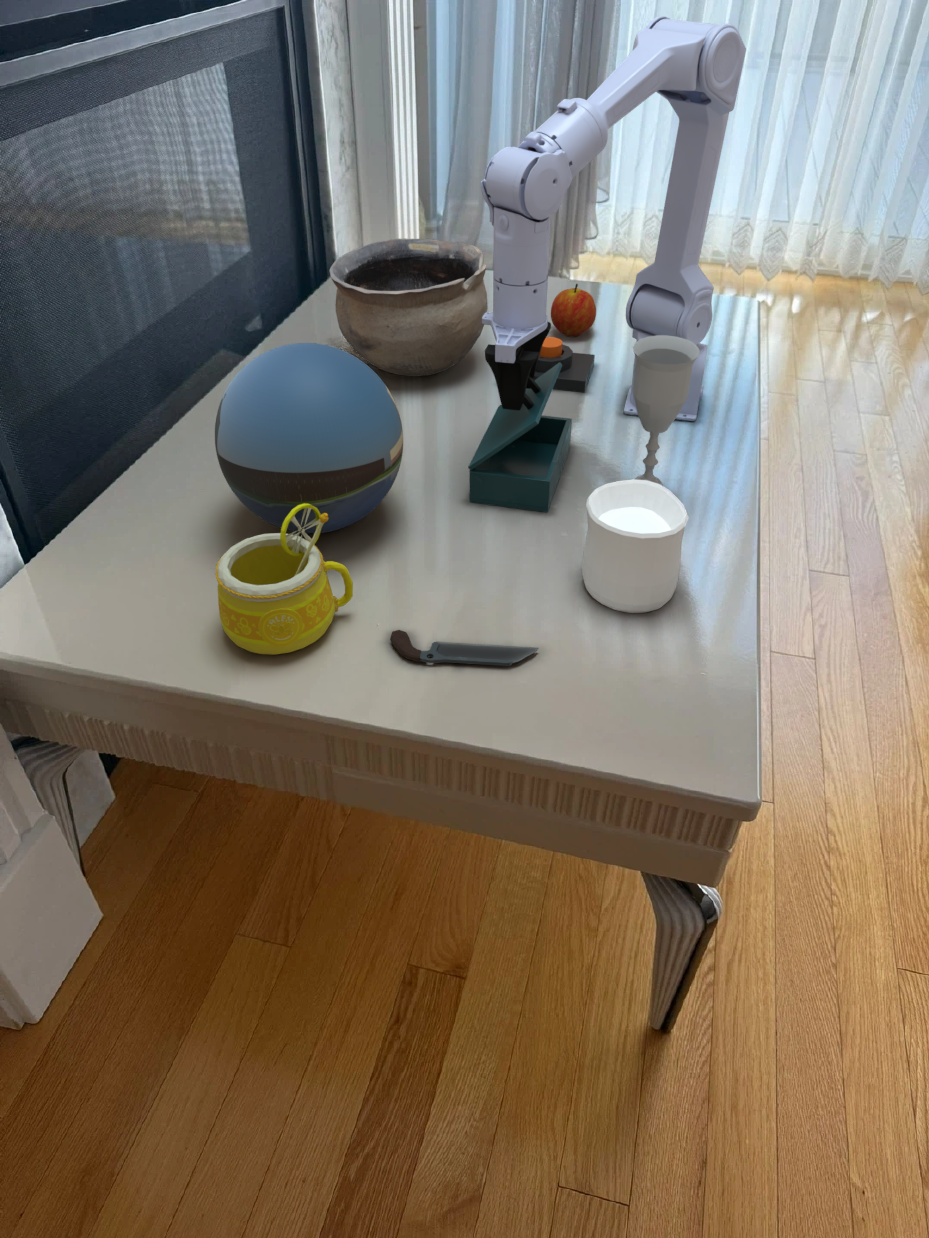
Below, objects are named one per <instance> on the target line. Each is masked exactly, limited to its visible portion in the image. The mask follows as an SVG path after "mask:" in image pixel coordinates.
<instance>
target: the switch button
mask: <svg viewBox="0 0 929 1238" xmlns="http://www.w3.org/2000/svg"><path fill="white" fill-rule="evenodd" d="M562 344H563V340H562V339H560V338H558V337H554V336H546V338H545V340H544V342H543V345H542V348H541V351H540V354H539V356H541V357H548V358H552V357H559V356H561V355H562Z"/></svg>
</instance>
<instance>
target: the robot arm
mask: <svg viewBox="0 0 929 1238" xmlns="http://www.w3.org/2000/svg"><path fill="white" fill-rule="evenodd" d="M746 51H747V48H746V45H745V43H744V41H743V39H742V36H741V34H740V32H739V29H738V28H737V27H736V26H735V25H733V24H732V23H722V24H718V23H709V22H699V21H690V20H682V19H673V18H670V17H667V16H656V17H655V18H653V19H652V20H650V21H649V22H648V24H647V25H646V26H645V27H644V28H642V29H641V30H640V31H638V32H636V34H635V38H634V41H633V46H632V51H630V53H629V54H628V55H627V56H626V57H625V58H624V59H623V60H622V62H621V63H620V64H619V65H618V66H617V67H616V68H615V69H614V70H613V71H612V72H611V73H610V75H608V77H607V78H605V80H604V81H603V82H601V84H600V85H599V86H597V88H596V90H595V91H594V92H592V94H591V95H590V96H589V97H588V98H587V99H585V98H581V97H572V98H570V99H568V98H564V99H562V100H561V101H560V102H559V103H558V104H557V105H556V108H557V110H556V111H555V112H554V113H553V114H552V115H550V116H549V117H548V118H547V119H546V120H545V121H544V122H543V123H542V124H541V125H539V127H537V128H536V129H535V130H534V131H530V132H529V133H528V134H527V135H526V136H525V138H524V140H523V141H522V142H521V143H520V144H519V145H518V146H514V145H511V146H506V147H503V148H501V149H500V150H499V151H497V153H495V154H494V155H493V156H492V157H491V159H490V160H489V162H488V164H487V166H486V168H485V172H484V178H483V179H482V180H481V181H480V190H481V194H482V198H483V200H484V202H485V203H486V204H487V207H488V209H489V222H490V223H491V226H493V253H492V254H493V259H492V260H493V261H492V265H493V266H492V267H493V268H492V269H493V270H492V276H493V277H492V278H493V280H492V311H487V312H486V313H484V315H483V317H482V324H484V326H490V327H491V330H492V333H493V336H494V340H495V343H494V344H490V343H489V344H487V346H486V347H485V349H484V359H485V361H486V364H488V366H489V368H490V370H491V372H492V374H493V376H494V380H495V382H496V387H497V392H498V396H499V402H500V405H502V408H503V409H509V410H518V411H519V410H520V409H521V407H522V405H523V401H524V397H525V392H526V388H527V389H530V387H529V386H528V384H527V381H528V377H529V375H530V376H531V377H532V378H533V379H534V375H535V371H536V366H537V362H538V358H539V354H540V351H541V348H542V345H543V342H544V340H545V338H546V337H548V335H549V333H550V331H551V329H552V324H551V323H552V322H550V321H549V318H548V315H547V305H548V289H549V288H548V287H549V286H548V285H549V266H550V265H549V263H550V247H551V246H550V243H551V223H552V216H553V215H554V214H556V213H557V212H558V211H559V209H560V207H561V205H562V203H563V201H564V197H565V195H566V193H567V190H568V189H569V188H570V187H571V183H572V182H573V180H574V179H573V178H575V177H576V176H577V175H579V173H580V172H581V171H582V170H583V169H584V168H585V167H586V166H587V165H589V164H590V162H592V161H593V160H594V159H595V158H596V157H597V156H598V155H600V153H602V151H603V150H604V149H606V146H607V143H608V140H609V139H608V138H609V130H610V128H612V127H613V126H614V125H616V124H617V123H618V122H620V121H621V120H622V119H623V118H625V117H626V116H627V115H628V114H630V113H631V112H632V111H634V110H635V109H636V108H637V107H639V106H640V105H641V104H643V102H645V101H646V100H648V99H649V98H650V97H651V96H653V95H654V94H655V93H657V94H659V95H660V96H661V97H663V98H664V99H665V100H666V101H668V104H669V105H670V107H671V108H672V109H673V111H674V112H675V115H677V117H678V127H677V133H676V137H675V142H674V149H673V155H672V161H671V167H670V172H669V177H668V182H667V183H668V184H667V188H666V189H667V190H666V193H665V194H666V195H665V199H664V206H663V212H662V217H661V223H660V227H659V228H660V229H659V234H658V240H657V247H656V251H655V257H654V262H652V263H651V264H649V265H648V266H646V267H644V268H643V269H641V270H640V271H639V272H637V273H636V275H635V282H634V285H633V289H632V290H631V293H630V295H629V297H628V299H627V302H626V306H625V320H626V323H627V326H628V327H629V328H630V329H632V333H631V334H632V335H631V337H632V338H633V339H635V340H636V341H635V343H636V342H637V341H638V340H640V339H642V338H645V337H649V336H656V335H668V336H675V337H680V338H683V339H687V340H689V341H691V342H693V343H694V344H695V345H696V346H697V347H698V348H699V351H700V353H699V355H698V357H697V359H696V360H695V361H694V363H693V366H692V373H691V379H690V385H689V391H688V396H687V399H686V401H685V403H684V405H683V407H682V408H681V410H680V412H679V414H678V415H677V417H676V418H675V420H678V421H679V420H680V421H690V422H695V421H696V420H697V415H698V409H699V404H700V401H702V400H703V394H704V390H705V389H704V388H705V387H704V386H702V385H703V379H704V374H705V368H706V363H707V362H706V361H707V355H708V350H709V345H708V344H704V343H701V342H703V340H705V338H706V336H707V335H708V332H709V331H710V328H711V325H712V321H713V306H712V305H713V303H712V301H713V295H714V289H715V287H714V286H713V284H712V282H711V281H710V279H709V278H708V277H707V275H706V274H705V272H704V271H703V270H702V268H701V267H700V265H699V263H700V257H701V253H702V248H703V243H704V239H705V233H706V228H707V224H708V220H709V219H708V218H709V214H710V208H711V204H712V199H713V194H714V190H715V185H716V179H717V175H718V171H719V165H720V160H721V155H722V150H723V146H724V140H725V136H726V131H727V126H728V121H729V116H730V113H731V112H734V109H735V106H736V101H737V96H738V91H739V86H740V81H741V76H742V72H743V67H744V63H745V57H746ZM633 359H634V360H633V369H632V377H631V384H630V386H629V389H628V393H627V397H626V400H625V404H624V408H623V414H625V415H633V416H639V415H638V413H637V410H636V405H635V401H634V396H633V382H634V374H635V366H636V356H635V355H634V358H633Z"/></svg>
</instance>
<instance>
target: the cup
mask: <svg viewBox="0 0 929 1238" xmlns="http://www.w3.org/2000/svg"><path fill="white" fill-rule="evenodd" d="M585 508H586V517H587V531H586V537H585V541H584V546H583V553H582V563H581V564H582V565H581V575H582V580H583V583H584V586H585V589H586V591H587V593H588V594H589V595H590V596H591V597H592V598H593V599H594V600H595V601H597V602H598V603H600V604H601V605H603V606H605V607H608V608H609V609H612V610H614V611H618V612H624V613H628V614H643V613H648V612H652V611H655V610H659V609H660V608H662V607H663V606H665V605H666V604H667V603H668V602H670V600H671V599H672V598H673V595H674V594H675V591H676V588H677V585H678V583H679V577H680V570H681V564H682V546H683V545H682V544H683V538H684V533H685V528H686V526H687V523H688V521H689V518H690V516H689V514H688V511H687V510H686V507H685V505H684V504H683V503H682V502H681V500H680V499H679V498H678V497H677V496H676V495H675V494H674V493H673V492H672V491H671V490H670V489H669V488H667V487H665V486H664V485H663V486H662V485H660V484H657V483H654V482H651V481H648V480H636V479H635V478H632V479H625V480H617V481H613V482H608V483H605V484H603V485H601V486H598V487H596V488H595V489H594V490H593V491H592V492H591V494H589V496H588V497H587V498H586V503H585Z"/></svg>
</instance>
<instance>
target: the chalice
mask: <svg viewBox="0 0 929 1238" xmlns="http://www.w3.org/2000/svg"><path fill="white" fill-rule="evenodd" d="M636 341H637V340H636ZM636 341H635V342H634V344H633V346H632V350H633V353H634V357H635V356H636V366H635V374H634V382H633V396H634V401H635V405H636V410H637V413H638V415H637V416H638V418H639V421H640V424H641V427H642V428H643V430H644V431H646V432H648V433H649V439H648V441H647V443H646V444H645V446H644V447H645V448H646V449H645V450H646V451H647V454H646V456H645V457H644V458H643V459H642V463H643V465H644V469H645V470H644V473H643V474H640V475H638V476H636V477H635V478H634V479H636V480H648V481H651V482H654V483H657V484H660V485H662V486H663V487H664V483H663V482H662V481H661V479H659V478H658V477H657V476H655V475H654V469H655V466H657V465H658V464H659V460H658V459H657V458H656V456H657V455H656V454H657V451H658V450H659V449H660V445H659V435H660V434H663V433H665V432H667V431H668V430H669V428H670V427H671V425H673V422H674V421H675V420H676V419H675V418H676V417H677V415H678V414H679V412H680V410H681V408H682V407H683V405H684V403H685V401H686V399H687V396H688V391H689V385H690V379H691V373H692V366H693V363H694V361H695V360H696V359H697V357H698V355H699V353H700V351H699V348H698V347H697V346H696V345H695V344H694V343H693V342H691V341H689V340H687V339H683V338H680V337H675V336H668V335H656V336H649V337H645V338H642V339H640V340H638V341H637V342H636Z"/></svg>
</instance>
